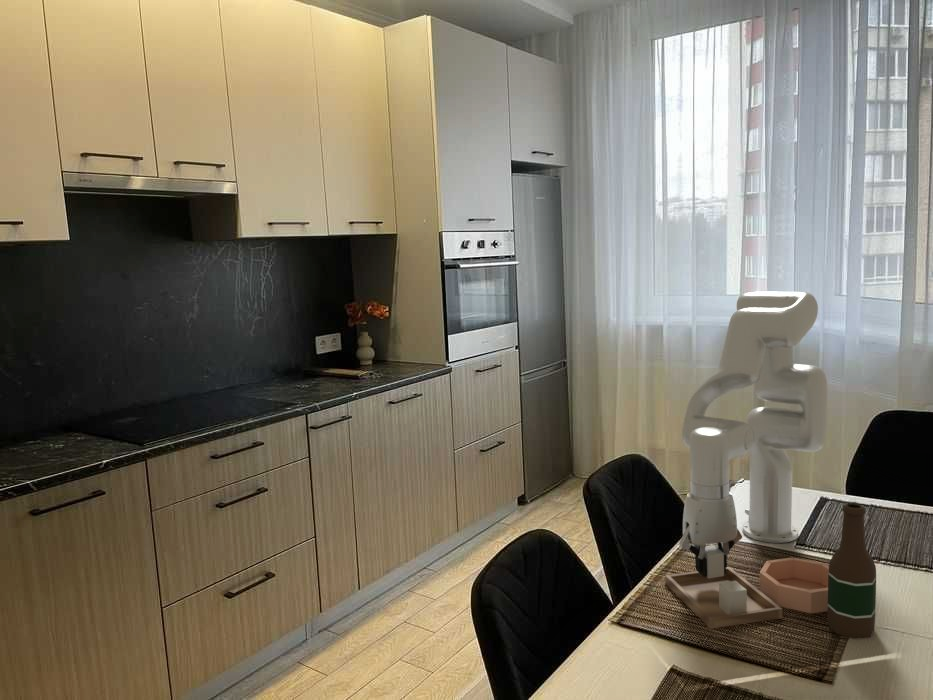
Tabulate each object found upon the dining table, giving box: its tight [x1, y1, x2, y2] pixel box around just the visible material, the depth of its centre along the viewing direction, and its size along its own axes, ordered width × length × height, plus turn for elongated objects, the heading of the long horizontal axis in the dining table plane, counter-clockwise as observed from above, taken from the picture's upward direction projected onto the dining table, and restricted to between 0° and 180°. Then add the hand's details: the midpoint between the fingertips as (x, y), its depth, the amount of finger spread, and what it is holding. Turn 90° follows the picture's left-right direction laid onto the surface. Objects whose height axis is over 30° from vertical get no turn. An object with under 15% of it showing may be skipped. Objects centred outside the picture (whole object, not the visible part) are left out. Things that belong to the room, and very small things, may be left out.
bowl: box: [759, 557, 829, 614], centre depth 145 cm, size 15×15×5 cm
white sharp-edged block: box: [719, 581, 747, 614], centre depth 140 cm, size 4×4×5 cm
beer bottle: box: [826, 503, 877, 640], centre depth 130 cm, size 8×8×24 cm
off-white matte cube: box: [704, 544, 724, 579], centre depth 149 cm, size 4×4×5 cm
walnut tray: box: [664, 566, 783, 629], centre depth 144 cm, size 19×15×2 cm
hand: (711, 571), depth 149 cm, fingers closed on off-white matte cube, 3 cm apart
